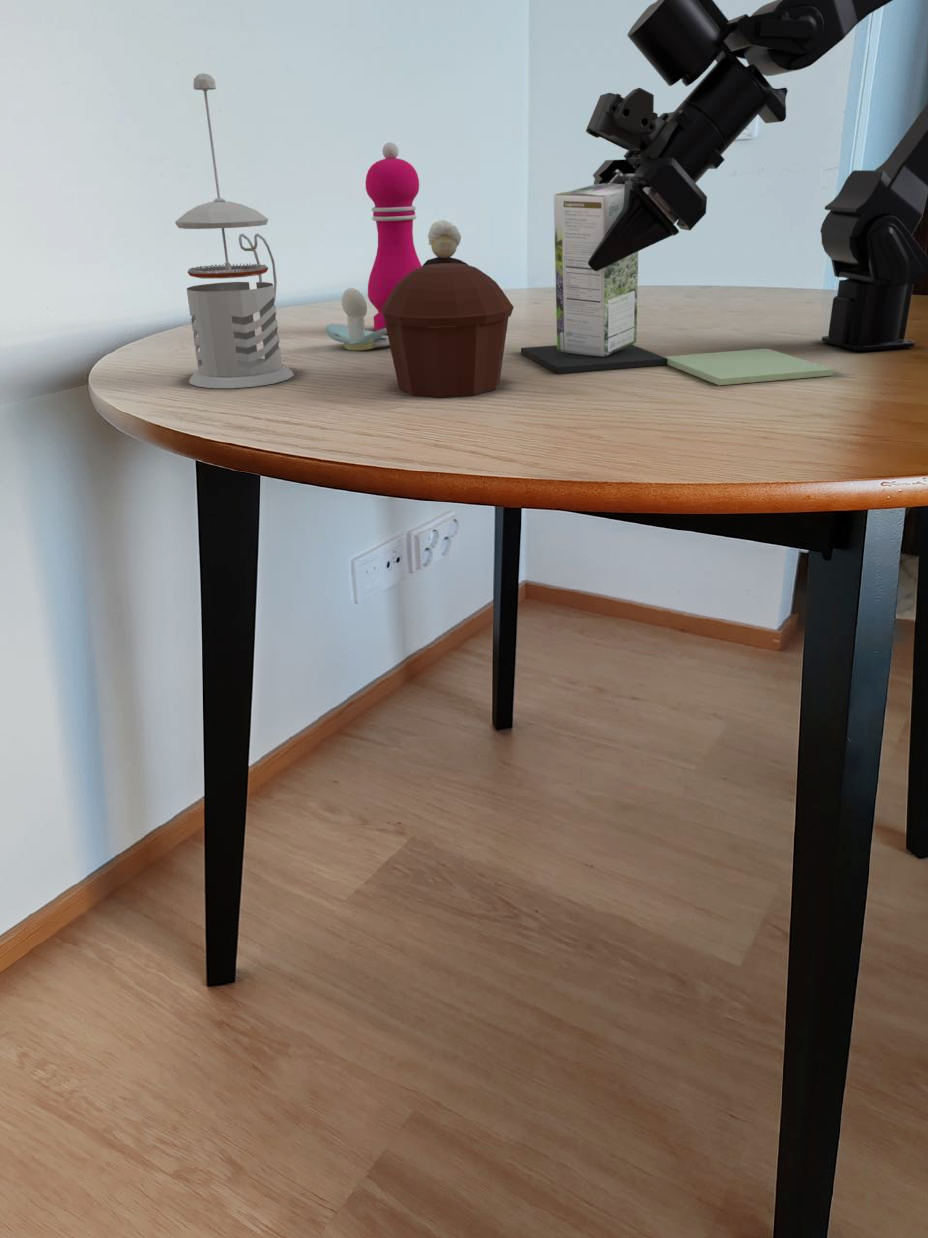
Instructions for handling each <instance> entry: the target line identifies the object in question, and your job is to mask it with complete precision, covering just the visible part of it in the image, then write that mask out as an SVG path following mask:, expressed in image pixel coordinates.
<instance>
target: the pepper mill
mask: <svg viewBox="0 0 928 1238" xmlns="http://www.w3.org/2000/svg"><path fill="white" fill-rule="evenodd" d="M399 151H400V150H399V148H398V145H397V144H396V143H395V142H391V141H390V142H387V143H385V144H384V145H383V147H382V151H381V152H382V155H383V158H382V159H380V160H377V161H376V162H374V163H372V164H371V166H370V167H369V168H368V170H367V173H366V177H365V192H366V194H367V196H368V197H369V199H370V200H371V201H372V202H373V205H374V207H372V208H371V211H372V218H371V219H372V221H373V222H375V224H376V230H377V247H376V254H375V258H374V261H373V265H372V268H371V271H370V274H369V277H368V282H367V297H368V300H369V302H370V303H371V305H372V306H373V307H374V308H375V309H376V310H377V313H376V314H374V316H373V329H374V332H375V331H378V330H380V329H384V328H386V325H385V319H384V317H383V314H382V312H381V308H382V307H383V305H384V304H385V302H386V300H387V298H388V297H389V295H390V293H391V292H392V290H393V289H394V287H395V286H396V284H397V283H398V282H399V281H400V280H401V279H403V278H404V277H405V276H406V275H408V274H409V273H410V272H412V271H413V270H415V269H418V268H420V267H422V266H423V264H422V263H421V261H420V259H419V256H418V254H417V250H416V247H415V243H414V234H413V232H414V231H413V229H414V220H416V219H417V215H416V210H417V207H416V206H415V205H413V204H414V203H413V202H414V201H415V198H416V197H417V195H418V194H419V191H420V179H419V175H418V172H417V170H416V169H415V167H414V166H413V165H412V164H411V163H410V162H408V161H406V160H405V159H402V158H398V156H399V154H400V153H399ZM385 335H388V334H387V333H386V334H385Z"/></svg>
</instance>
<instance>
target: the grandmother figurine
mask: <svg viewBox="0 0 928 1238" xmlns="http://www.w3.org/2000/svg"><path fill="white" fill-rule="evenodd" d="M427 239H428V245H429V246H430V247H431V251H432V253H433V254H434V256H435V257H433V258H430V259H427V260H426V261H425V262H424V263H423V264H422V267H423V266H426V265H430V264H440V263H460V264H466V265H469V263H467V262H465V261H463V260H461V259H459V258H455V257H453V256H454V255H455V253H456V252H457V248H458V247H459V245H460V244H461V240H462V235H461V233H460V232H459V229H458V227H457V226H456V225H453V223H452V222H450V221H447V220H445V219H441V220H438V221H434V222H433V223H432V224H431V226H430V228H429V231H428V234H427Z"/></svg>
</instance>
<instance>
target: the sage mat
mask: <svg viewBox="0 0 928 1238" xmlns="http://www.w3.org/2000/svg"><path fill="white" fill-rule="evenodd" d="M664 357H665V358H667V366H670V367H672V368H674V369H677V370H680V371H682V372H684V373H687V374H689V375H692V376H694V377H697V378H699V379H702V380H704V381H707V382H709V383H712V384H715V385H717V386H731V385H739V384H752V383H763V382H775V381H783V380H784V381H785V380H786V381H787V380H797V379H809V378H818V377H819V378H821V377H830V376H834V368H832V367H829V366H826V365H822V364H819V363H815V362H812V361H810V360H806V359H804V358H801V357H800V358H799V357H797V356H793V355H790V354H786V353H783V352H780V351H776V350H774V349H771V348H757V349H743V350H730V351H717V352H705V353H692V354H680V355H667V356H666V355H665V356H664Z"/></svg>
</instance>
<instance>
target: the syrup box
mask: <svg viewBox="0 0 928 1238" xmlns="http://www.w3.org/2000/svg"><path fill="white" fill-rule="evenodd" d="M624 188H625V185H624V184H596V185H594V184H591V185H586V186H583V187H578V188H575V189H570V190H565V191H562V192H558V193H555V194H554V195H553V218H554V219H553V222H554V223H553V224H554V225H553V226H554V227H553V230H554V231H553V232H554V266H555V268H554V271H555V272H554V273H555V274H554V275H555V305H556V306H555V308H556V309H555V315H556V316H555V317H556V345H557V349H558V350H559V351H561V352H567V353H575V354H583V355H593V356H601V357H605V356H607V355H610V354H612V353H614V352H616V351H619V350H621V349H623V348H625V347H627V346H630V345H634V344H636V342H637V334H638V332H637V331H638V330H637V329H638V327H637V326H638V286H639V285H638V283H639V282H638V281H639V279H638V278H639V251H638V252H636V253H633V254H631V255H629V256H627V257H625V258H623V259H621V260H619V261H617V262H615V263H613V264H611V265H609V266H607V267H605V268H602V269H600V270H598V271H594V270H593V269H592V268H591V267H590V266H589V265H588V261H589V259H590V258H591V256H592V254H593V253H594V251H595V250H596V248H597V247H598V245H599V244H600V242H601V241H602V239H603V238H604V236H605V235H606V233H607V232H608V230H609V229H610V227H611V226H612V224H613V223H614V221H615V220H616V218H617V217H618V215H619V214H620V212H621V211H622V209H623V205H624Z"/></svg>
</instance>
